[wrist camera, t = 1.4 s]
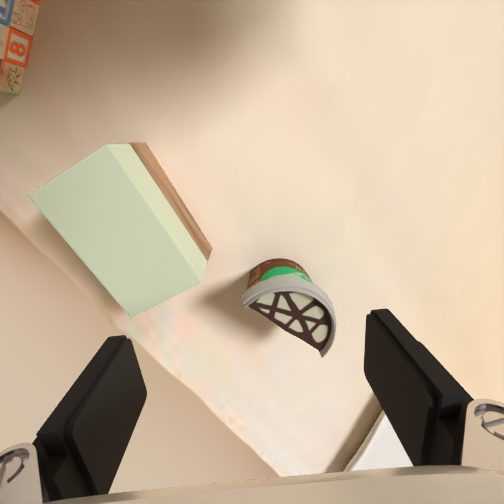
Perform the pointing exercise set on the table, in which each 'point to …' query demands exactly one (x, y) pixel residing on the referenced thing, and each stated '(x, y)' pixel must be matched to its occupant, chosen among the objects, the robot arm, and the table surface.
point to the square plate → (380, 449)
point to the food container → (292, 302)
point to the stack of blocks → (15, 41)
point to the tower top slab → (122, 228)
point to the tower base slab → (172, 196)
